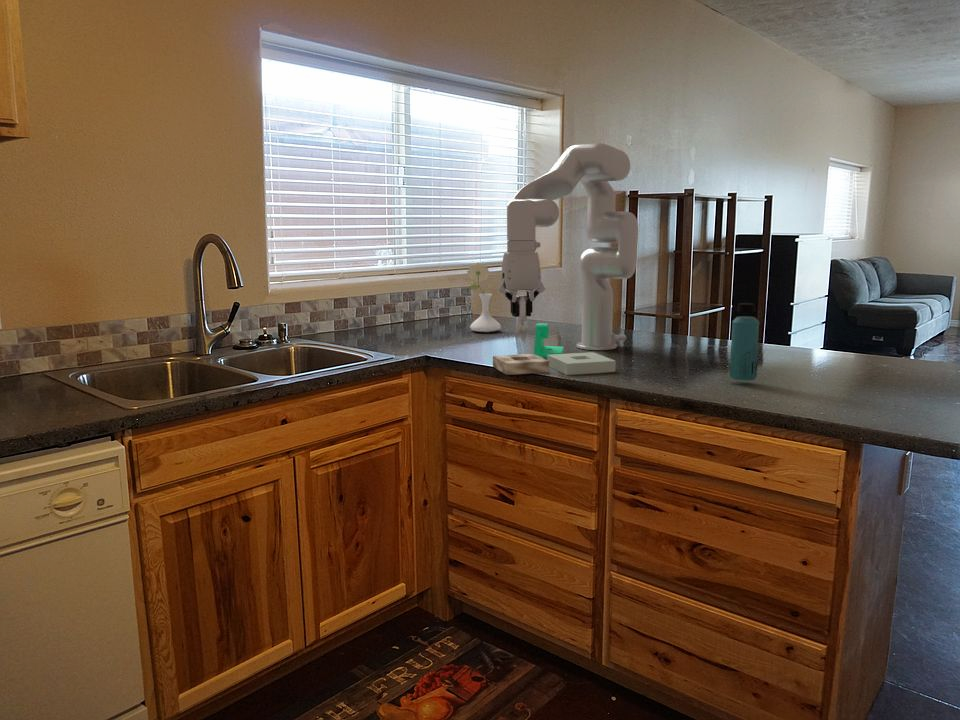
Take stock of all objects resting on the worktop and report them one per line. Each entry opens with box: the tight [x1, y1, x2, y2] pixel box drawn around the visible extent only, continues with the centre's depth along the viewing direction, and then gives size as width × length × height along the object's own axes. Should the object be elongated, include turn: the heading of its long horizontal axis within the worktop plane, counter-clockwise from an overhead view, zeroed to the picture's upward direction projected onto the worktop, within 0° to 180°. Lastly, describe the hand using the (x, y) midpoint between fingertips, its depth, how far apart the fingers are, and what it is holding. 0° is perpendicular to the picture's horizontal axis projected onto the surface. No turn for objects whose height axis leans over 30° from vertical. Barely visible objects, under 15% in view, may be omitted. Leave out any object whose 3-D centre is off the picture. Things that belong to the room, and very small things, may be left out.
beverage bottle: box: [728, 302, 760, 381], centre depth 183 cm, size 6×7×20 cm
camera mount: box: [533, 322, 565, 360], centre depth 220 cm, size 12×8×10 cm, turn 169°
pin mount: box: [492, 353, 550, 376], centre depth 203 cm, size 12×12×3 cm
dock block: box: [546, 351, 617, 376], centre depth 204 cm, size 14×14×3 cm
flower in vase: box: [466, 262, 502, 333], centre depth 271 cm, size 13×11×25 cm
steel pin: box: [515, 295, 528, 335], centre depth 201 cm, size 3×3×10 cm
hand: (521, 315), depth 201 cm, fingers closed on steel pin, 3 cm apart
